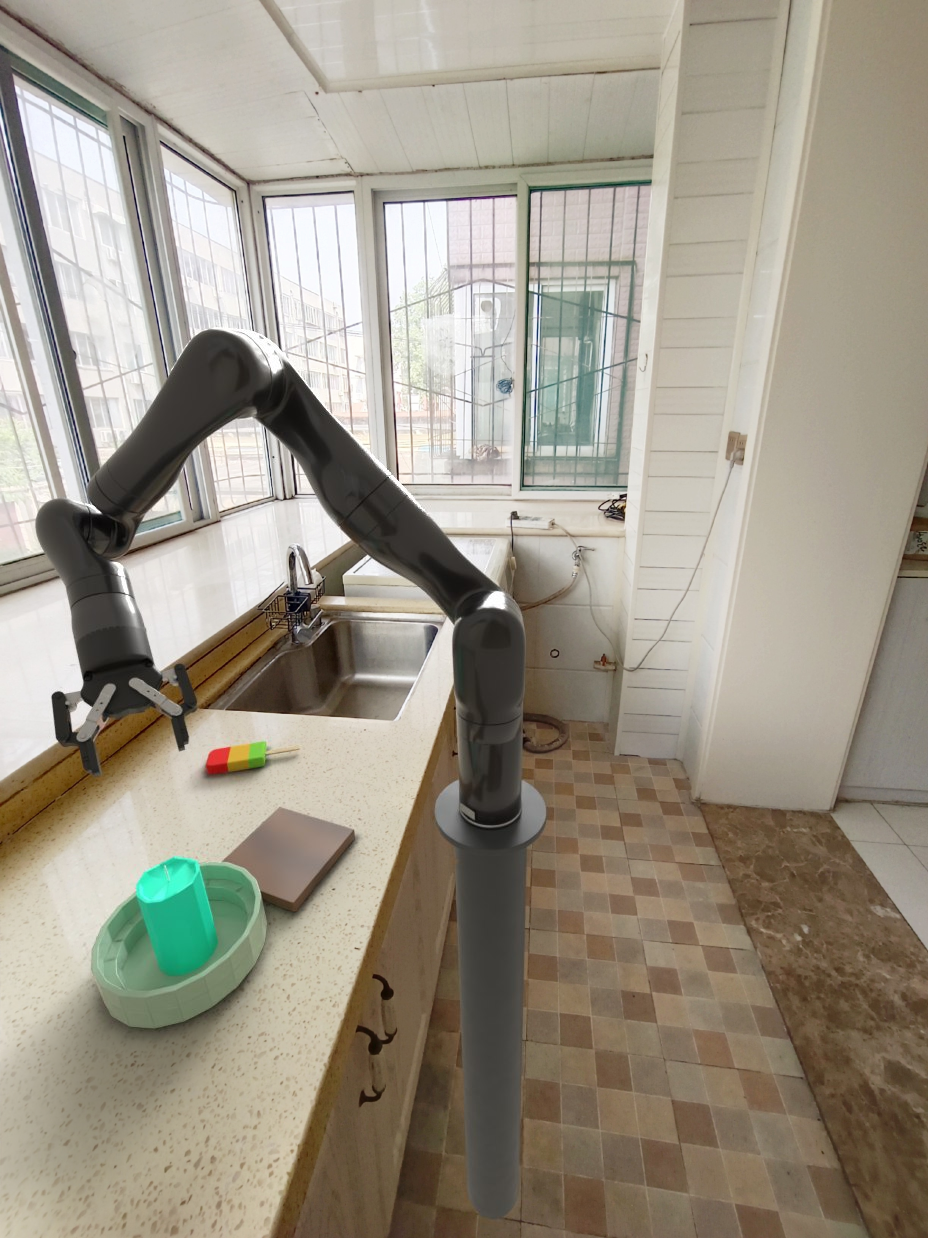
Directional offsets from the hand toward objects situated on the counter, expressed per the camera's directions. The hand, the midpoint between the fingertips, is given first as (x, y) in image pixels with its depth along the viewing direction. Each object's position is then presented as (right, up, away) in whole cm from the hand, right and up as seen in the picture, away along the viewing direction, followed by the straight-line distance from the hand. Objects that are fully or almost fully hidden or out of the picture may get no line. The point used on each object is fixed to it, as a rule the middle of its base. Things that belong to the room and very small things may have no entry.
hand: (141, 761), depth 62 cm
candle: (+7, -20, -3) cm, 21 cm away
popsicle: (+1, -8, +31) cm, 32 cm away
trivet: (+14, -16, +10) cm, 23 cm away
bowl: (+7, -21, -3) cm, 22 cm away
